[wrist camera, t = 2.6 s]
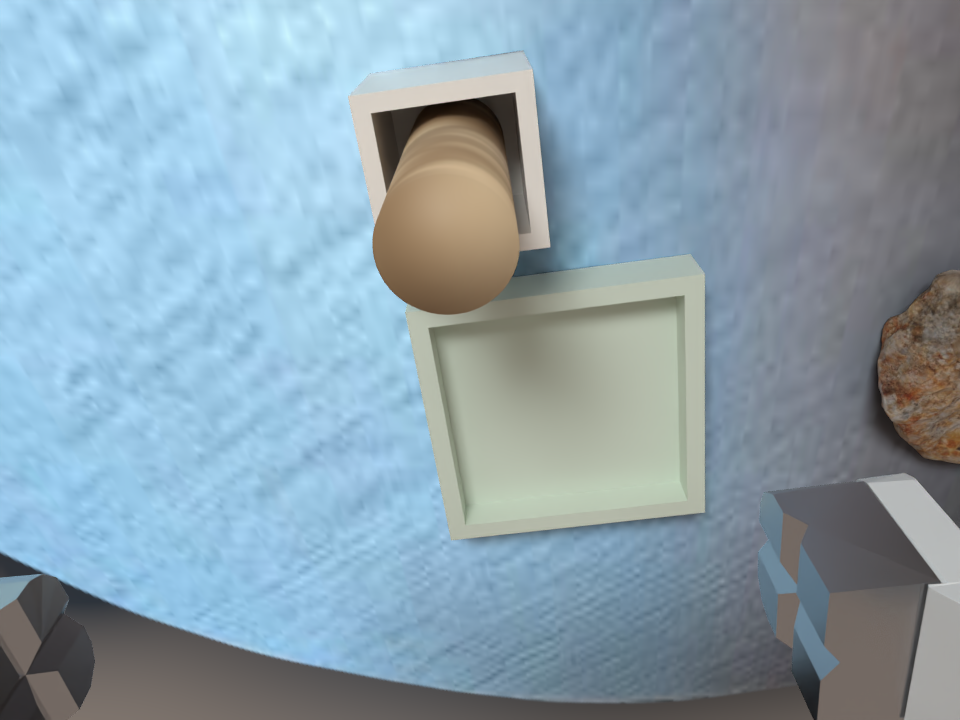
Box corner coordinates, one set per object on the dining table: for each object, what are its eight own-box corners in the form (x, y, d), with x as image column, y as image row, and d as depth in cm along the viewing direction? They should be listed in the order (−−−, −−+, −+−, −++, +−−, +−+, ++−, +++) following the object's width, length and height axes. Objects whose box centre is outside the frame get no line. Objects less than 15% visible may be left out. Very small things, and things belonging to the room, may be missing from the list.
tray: (690, 254, 32) (704, 274, 30) (692, 482, 37) (704, 512, 35) (409, 290, 33) (405, 312, 31) (452, 509, 38) (451, 540, 36)
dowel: (497, 88, 28) (510, 164, 18) (509, 183, 30) (527, 305, 19) (402, 101, 28) (358, 185, 18) (419, 195, 30) (387, 323, 20)
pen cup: (523, 50, 28) (532, 69, 23) (538, 202, 31) (550, 247, 26) (369, 73, 29) (347, 96, 24) (398, 221, 31) (383, 269, 26)
